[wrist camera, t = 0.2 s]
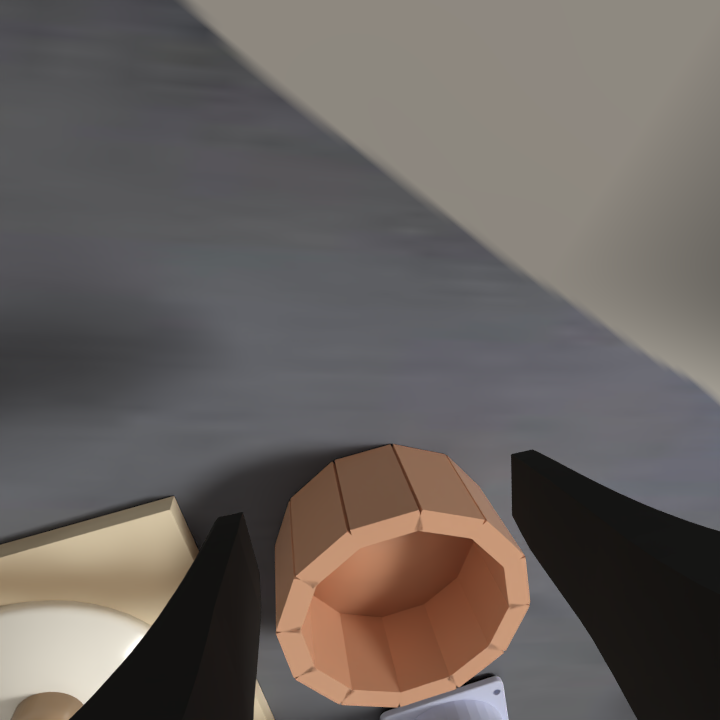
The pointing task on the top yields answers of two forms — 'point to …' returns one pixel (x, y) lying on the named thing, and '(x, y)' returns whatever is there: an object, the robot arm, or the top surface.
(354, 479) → the bowl
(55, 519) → the top surface
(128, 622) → the lid
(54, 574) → the board
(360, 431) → the top surface
